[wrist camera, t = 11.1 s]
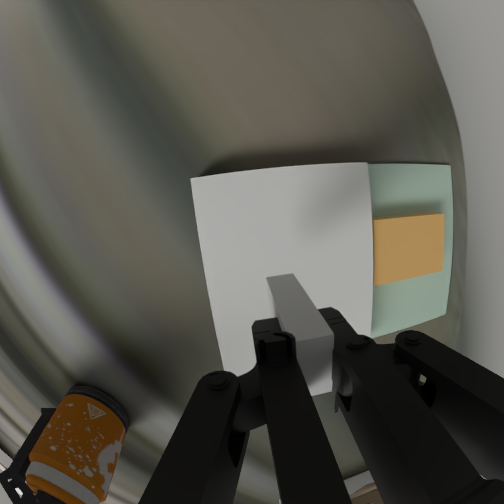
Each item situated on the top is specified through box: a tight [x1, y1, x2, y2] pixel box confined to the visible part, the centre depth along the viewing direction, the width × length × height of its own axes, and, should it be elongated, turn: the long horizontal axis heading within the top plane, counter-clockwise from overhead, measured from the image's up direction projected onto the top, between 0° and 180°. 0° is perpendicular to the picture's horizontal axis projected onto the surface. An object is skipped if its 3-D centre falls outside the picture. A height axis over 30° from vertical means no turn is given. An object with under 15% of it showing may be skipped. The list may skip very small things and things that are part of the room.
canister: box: [0, 386, 129, 504], centre depth 17 cm, size 9×11×20 cm
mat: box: [367, 164, 453, 338], centre depth 26 cm, size 18×12×1 cm, turn 7°
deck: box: [191, 162, 373, 376], centre depth 23 cm, size 18×14×3 cm
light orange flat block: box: [372, 212, 445, 286], centre depth 24 cm, size 9×6×2 cm, turn 96°
